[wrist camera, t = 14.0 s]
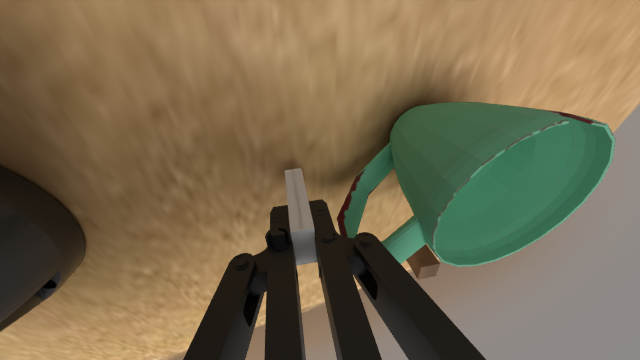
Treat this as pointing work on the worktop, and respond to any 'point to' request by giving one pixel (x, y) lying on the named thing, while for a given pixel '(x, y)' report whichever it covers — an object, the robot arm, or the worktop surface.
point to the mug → (483, 178)
